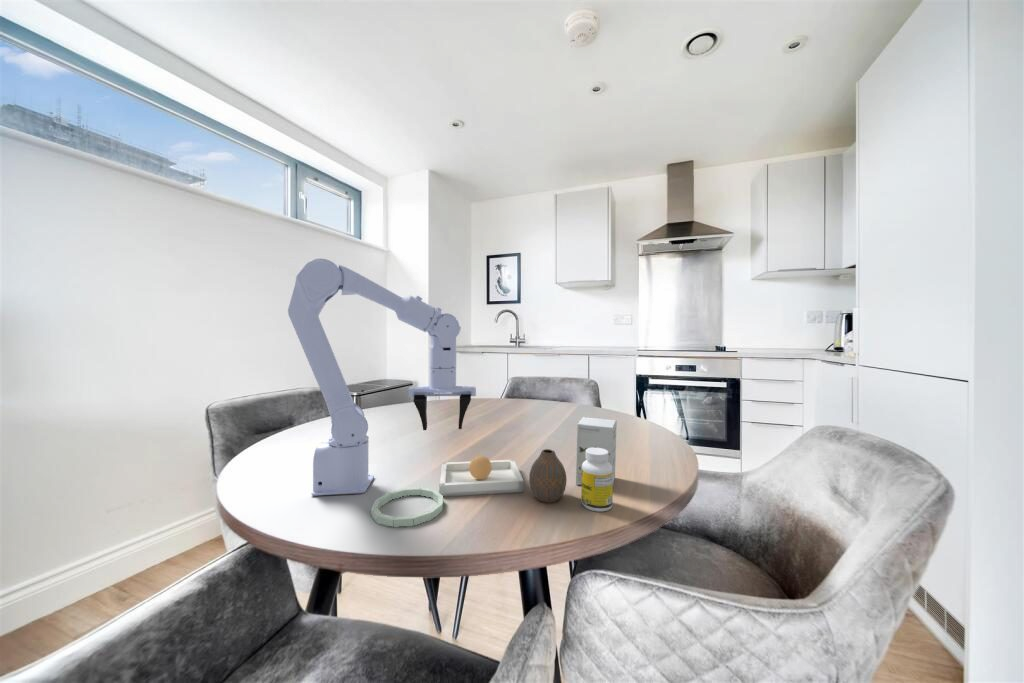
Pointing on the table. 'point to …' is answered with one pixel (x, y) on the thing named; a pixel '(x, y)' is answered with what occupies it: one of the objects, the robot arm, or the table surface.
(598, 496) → the supplement bottle
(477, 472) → the ball
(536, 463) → the vase
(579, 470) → the supplement box
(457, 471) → the tray
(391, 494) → the ring
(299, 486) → the table surface
